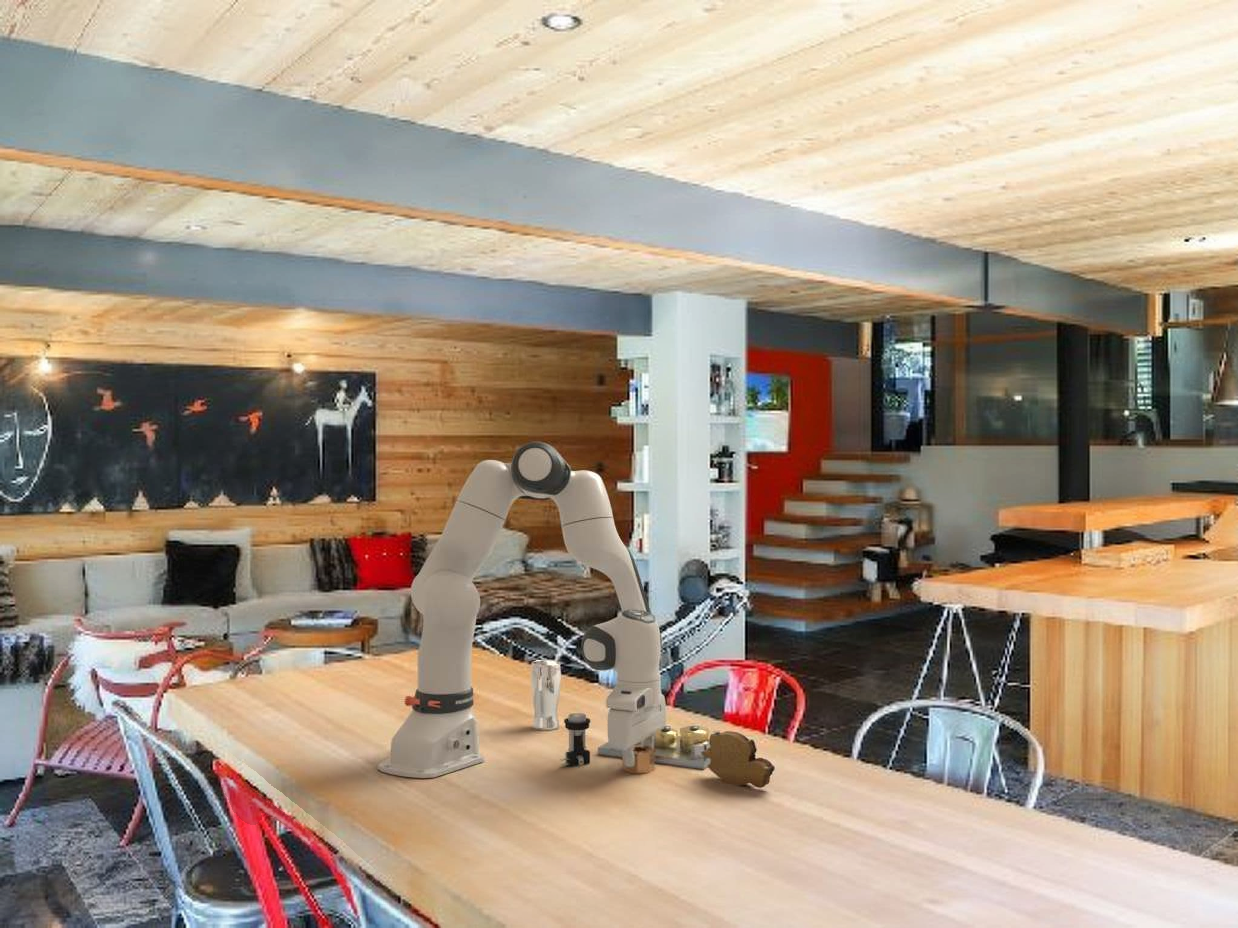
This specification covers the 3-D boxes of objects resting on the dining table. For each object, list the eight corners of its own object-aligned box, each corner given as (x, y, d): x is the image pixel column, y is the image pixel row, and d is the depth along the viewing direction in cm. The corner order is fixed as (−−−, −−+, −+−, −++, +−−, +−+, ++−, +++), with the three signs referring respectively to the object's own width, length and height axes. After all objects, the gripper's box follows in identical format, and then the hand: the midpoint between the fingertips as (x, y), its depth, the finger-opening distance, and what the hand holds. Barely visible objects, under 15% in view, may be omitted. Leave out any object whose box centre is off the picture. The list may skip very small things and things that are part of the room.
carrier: (704, 769, 221) (704, 739, 221) (598, 754, 232) (598, 725, 232) (732, 749, 235) (732, 721, 235) (630, 736, 246) (630, 708, 246)
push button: (568, 770, 220) (568, 720, 220) (553, 764, 225) (553, 715, 224) (595, 764, 224) (595, 715, 224) (580, 758, 229) (580, 710, 228)
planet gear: (645, 774, 217) (645, 754, 217) (618, 770, 220) (618, 750, 220) (658, 766, 223) (658, 747, 223) (631, 762, 226) (631, 743, 225)
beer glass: (563, 723, 257) (563, 659, 257) (558, 731, 250) (558, 665, 250) (533, 722, 258) (533, 659, 258) (528, 730, 251) (528, 664, 251)
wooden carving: (780, 789, 209) (780, 736, 208) (766, 795, 205) (767, 741, 205) (709, 772, 219) (709, 722, 219) (695, 777, 216) (695, 726, 216)
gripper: (646, 680, 232) (646, 746, 232) (601, 701, 214) (601, 772, 214) (673, 683, 229) (673, 749, 229) (631, 704, 211) (631, 776, 211)
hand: (638, 760), depth 221 cm, fingers closed on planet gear, 6 cm apart
